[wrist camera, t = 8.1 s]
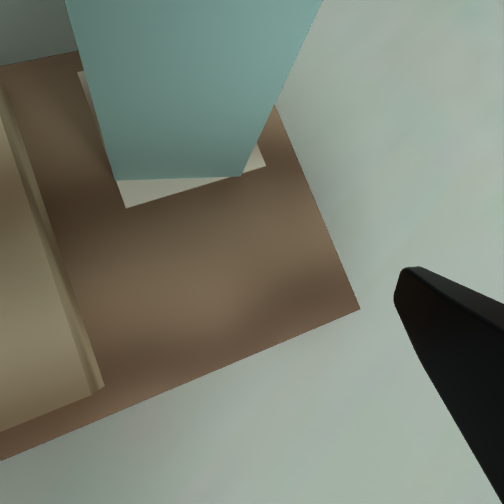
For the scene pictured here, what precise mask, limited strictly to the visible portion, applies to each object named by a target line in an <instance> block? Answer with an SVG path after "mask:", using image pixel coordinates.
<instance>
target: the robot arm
mask: <svg viewBox="0 0 504 504" xmlns="http://www.w3.org/2000/svg"><path fill="white" fill-rule="evenodd" d="M394 304H395V307H396V309H397V312H398V314H399V316H400V318H401V321H402V323H403V325H404V327H405V330H406V332H407V334H408V336H409V339H410V341H411V343H412V345H413V348H414V350H415V352H416V354H417V356H418V358H419V360H420V362H421V364H422V365H423V367H424V369H425V371H426V372H427V374H428V376H429V378H430V379H431V381H432V383H433V385H434V386H435V388H436V390H437V392H438V393H439V395H440V397H441V398H442V400H443V402H444V404H445V405H446V407H447V409H448V411H449V412H450V414H451V416H452V417H453V419H454V421H455V423H456V424H457V426H458V428H459V430H460V431H461V433H462V435H463V437H464V438H465V440H466V442H467V443H468V445H469V447H470V449H471V450H472V452H473V454H474V456H475V457H476V459H477V461H478V463H479V464H480V466H481V468H482V469H483V471H484V473H485V475H486V476H487V478H488V480H489V482H490V483H491V485H492V487H493V488H494V490H495V492H496V494H497V495H498V497H499V499H500V501H501V502H502V504H504V304H503V303H500V302H498V301H496V300H494V299H492V298H489V297H487V296H485V295H483V294H480V293H478V292H476V291H474V290H472V289H469V288H467V287H465V286H463V285H460V284H458V283H456V282H454V281H452V280H449V279H447V278H445V277H443V276H440V275H438V274H436V273H434V272H431V271H429V270H427V269H425V268H423V267H419V266H417V267H406V268H404V269H402V271H401V272H400V275H399V279H398V282H397V285H396V289H395V292H394Z"/></svg>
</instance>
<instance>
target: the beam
mask: <svg viewBox="0 0 504 504" xmlns="http://www.w3.org/2000/svg"><path fill="white" fill-rule="evenodd" d="M104 386H105V385H104V382H103V379H102V376H101V373H100V370H99V367H98V364H97V361H96V358H95V355H94V352H93V349H92V346H91V343H90V340H89V337H88V334H87V331H86V328H85V325H84V322H83V319H82V316H81V313H80V310H79V307H78V304H77V301H76V298H75V295H74V292H73V289H72V286H71V283H70V280H69V277H68V274H67V271H66V268H65V265H64V262H63V259H62V256H61V253H60V250H59V247H58V244H57V241H56V238H55V235H54V232H53V229H52V226H51V223H50V220H49V217H48V214H47V211H46V208H45V205H44V202H43V199H42V196H41V193H40V190H39V187H38V184H37V181H36V178H35V175H34V172H33V169H32V166H31V163H30V160H29V157H28V154H27V151H26V148H25V145H24V142H23V139H22V136H21V133H20V130H19V127H18V124H17V121H16V118H15V115H14V112H13V109H12V106H11V103H10V100H9V97H8V94H7V91H6V88H5V87H4V85H3V84H2V82H1V80H0V432H2V431H4V430H7V429H9V428H11V427H14V426H16V425H19V424H21V423H24V422H26V421H29V420H31V419H34V418H36V417H39V416H41V415H43V414H46V413H48V412H51V411H53V410H56V409H58V408H61V407H63V406H66V405H68V404H71V403H73V402H75V401H78V400H80V399H83V398H85V397H88V396H90V395H92V394H94V393H95V392H97V391H98V390H100V389H101V388H102V387H104Z"/></svg>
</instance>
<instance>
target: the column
mask: <svg viewBox="0 0 504 504" xmlns="http://www.w3.org/2000/svg"><path fill="white" fill-rule="evenodd" d="M64 1H65V4H66V8H67V11H68V15H69V19H70V22H71V26H72V29H73V33H74V36H75V40H76V44H77V47H78V51H79V54H80V58H81V61H82V65H83V69H84V72H85V76H86V79H87V83H88V86H89V90H90V94H91V97H92V101H93V104H94V108H95V111H96V115H97V119H98V122H99V126H100V129H101V133H102V136H103V140H104V144H105V147H106V151H107V154H108V158H109V161H110V165H111V168H112V172H113V176H114V179H115V181H120V180H149V179H179V178H208V177H238V176H241V175H242V173H243V171H244V168H245V166H246V164H247V162H248V160H249V158H250V155H251V153H252V151H253V149H254V147H255V145H256V143H257V140H258V138H259V136H260V134H261V132H262V130H263V128H264V125H265V123H266V121H267V119H268V117H269V115H270V113H271V110H272V108H273V106H274V104H275V102H276V100H277V97H278V95H279V93H280V91H281V89H282V87H283V85H284V82H285V80H286V78H287V76H288V74H289V72H290V70H291V67H292V65H293V63H294V61H295V59H296V57H297V54H298V52H299V50H300V48H301V46H302V44H303V42H304V39H305V37H306V35H307V33H308V31H309V29H310V27H311V24H312V22H313V20H314V18H315V16H316V14H317V12H318V9H319V7H320V5H321V3H322V1H323V0H64Z"/></svg>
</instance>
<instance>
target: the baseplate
mask: <svg viewBox="0 0 504 504" xmlns="http://www.w3.org/2000/svg"><path fill="white" fill-rule="evenodd" d="M0 80H1V82H2V84H3V85H4V87H5V88H6V91H7V94H8V97H9V100H10V103H11V106H12V109H13V112H14V115H15V118H16V121H17V124H18V127H19V130H20V133H21V136H22V139H23V142H24V145H25V148H26V151H27V154H28V157H29V160H30V163H31V166H32V169H33V172H34V175H35V178H36V181H37V184H38V187H39V190H40V193H41V196H42V199H43V202H44V205H45V208H46V211H47V214H48V217H49V220H50V223H51V226H52V229H53V232H54V235H55V238H56V241H57V244H58V247H59V250H60V253H61V256H62V259H63V262H64V265H65V268H66V271H67V274H68V277H69V280H70V283H71V286H72V289H73V292H74V295H75V298H76V301H77V304H78V307H79V310H80V313H81V316H82V319H83V322H84V325H85V328H86V331H87V334H88V337H89V340H90V343H91V346H92V349H93V352H94V355H95V358H96V361H97V364H98V367H99V370H100V373H101V376H102V379H103V382H104V385H105V386H104V387H102V388H101V389H100V390H98V391H97V392H95V393H94V394H92V395H90V396H88V397H85V398H83V399H80V400H78V401H75V402H73V403H71V404H68V405H66V406H63V407H61V408H58V409H56V410H53V411H51V412H48V413H46V414H43V415H41V416H39V417H36V418H34V419H31V420H29V421H26V422H24V423H21V424H19V425H16V426H14V427H11V428H9V429H7V430H4V431H2V432H0V461H2V460H5V459H7V458H9V457H12V456H14V455H16V454H19V453H21V452H24V451H26V450H28V449H31V448H33V447H35V446H38V445H40V444H42V443H45V442H47V441H50V440H52V439H54V438H57V437H59V436H61V435H64V434H66V433H68V432H71V431H73V430H76V429H78V428H80V427H83V426H85V425H87V424H90V423H92V422H95V421H97V420H99V419H102V418H104V417H106V416H109V415H111V414H113V413H116V412H118V411H121V410H123V409H125V408H128V407H130V406H132V405H135V404H137V403H139V402H142V401H144V400H147V399H149V398H151V397H154V396H156V395H158V394H161V393H163V392H165V391H168V390H170V389H173V388H175V387H177V386H180V385H182V384H184V383H187V382H189V381H192V380H194V379H196V378H199V377H201V376H203V375H206V374H208V373H210V372H213V371H215V370H218V369H220V368H222V367H225V366H227V365H229V364H232V363H234V362H236V361H239V360H241V359H244V358H246V357H248V356H251V355H253V354H255V353H258V352H260V351H263V350H265V349H267V348H270V347H272V346H274V345H277V344H279V343H281V342H284V341H286V340H289V339H291V338H293V337H296V336H298V335H300V334H303V333H305V332H307V331H310V330H312V329H315V328H317V327H319V326H322V325H324V324H326V323H329V322H331V321H333V320H336V319H338V318H341V317H343V316H345V315H348V314H350V313H352V312H355V311H357V310H360V306H359V304H358V302H357V299H356V297H355V295H354V292H353V290H352V287H351V285H350V283H349V280H348V278H347V276H346V273H345V271H344V268H343V266H342V264H341V261H340V259H339V256H338V254H337V252H336V249H335V247H334V245H333V242H332V240H331V237H330V235H329V233H328V230H327V228H326V226H325V223H324V221H323V218H322V216H321V214H320V211H319V209H318V207H317V204H316V202H315V199H314V197H313V195H312V192H311V190H310V188H309V185H308V183H307V180H306V178H305V176H304V173H303V171H302V168H301V166H300V164H299V161H298V159H297V157H296V154H295V152H294V149H293V147H292V145H291V142H290V140H289V138H288V135H287V133H286V130H285V128H284V126H283V123H282V121H281V119H280V116H279V114H278V111H277V109H276V107H275V104H274V106H273V108H272V110H271V113H270V115H269V117H268V119H267V121H266V123H265V125H264V128H263V130H262V132H261V134H260V136H259V138H258V140H257V143H256V145H255V147H254V149H253V151H252V153H251V155H250V158H249V160H248V162H247V164H246V166H245V168H244V171H243V173H242V175H241V176H238V177H208V178H179V179H149V180H120V181H115V179H114V176H113V172H112V168H111V165H110V161H109V158H108V154H107V151H106V147H105V144H104V140H103V136H102V133H101V129H100V126H99V122H98V119H97V115H96V111H95V108H94V104H93V101H92V97H91V94H90V90H89V86H88V83H87V79H86V76H85V72H84V69H83V65H82V61H81V58H80V54H79V51H74V52H69V53H64V54H59V55H54V56H49V57H44V58H39V59H34V60H29V61H24V62H19V63H14V64H9V65H4V66H0Z"/></svg>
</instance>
